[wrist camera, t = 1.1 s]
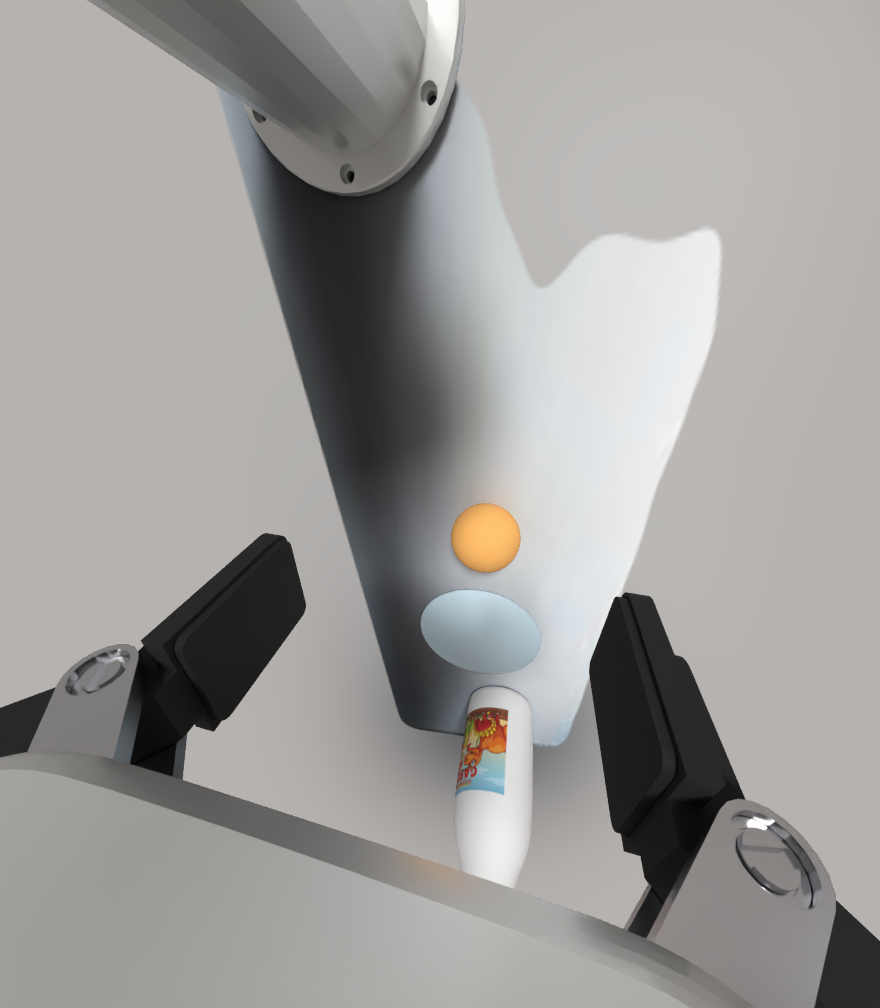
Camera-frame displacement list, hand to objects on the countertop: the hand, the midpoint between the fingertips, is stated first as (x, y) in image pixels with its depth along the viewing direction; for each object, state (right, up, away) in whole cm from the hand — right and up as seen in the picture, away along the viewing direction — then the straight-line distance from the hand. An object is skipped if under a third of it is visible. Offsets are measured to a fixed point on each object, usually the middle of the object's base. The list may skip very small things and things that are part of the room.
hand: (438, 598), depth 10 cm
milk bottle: (+8, -22, +34) cm, 41 cm away
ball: (+4, 0, +18) cm, 18 cm away
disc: (+4, -11, +28) cm, 31 cm away
